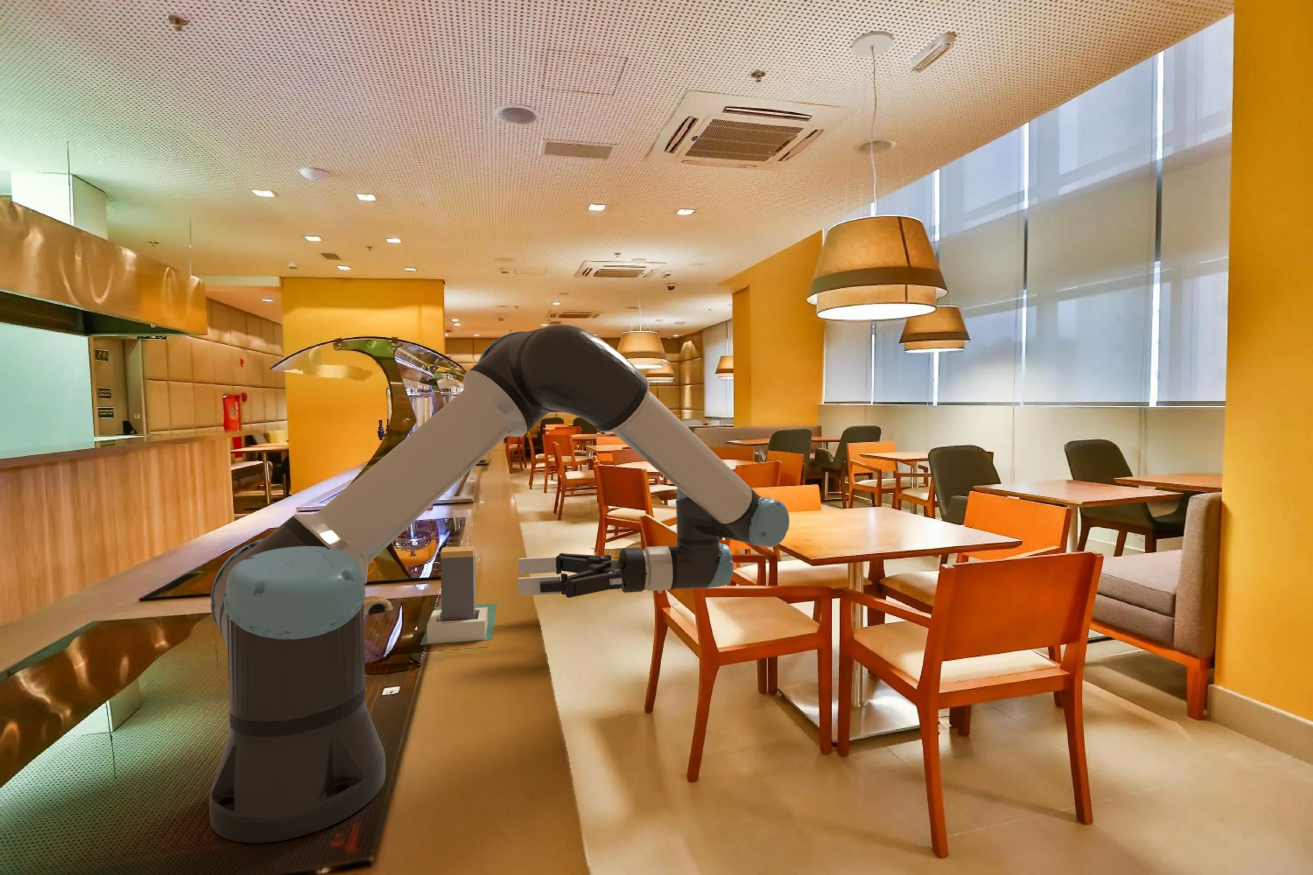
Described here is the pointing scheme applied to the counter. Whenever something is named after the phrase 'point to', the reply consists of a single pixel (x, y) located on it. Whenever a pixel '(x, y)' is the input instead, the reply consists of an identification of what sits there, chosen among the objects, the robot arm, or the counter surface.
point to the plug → (458, 583)
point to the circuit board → (490, 626)
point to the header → (457, 628)
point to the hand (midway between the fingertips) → (518, 575)
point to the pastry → (376, 605)
